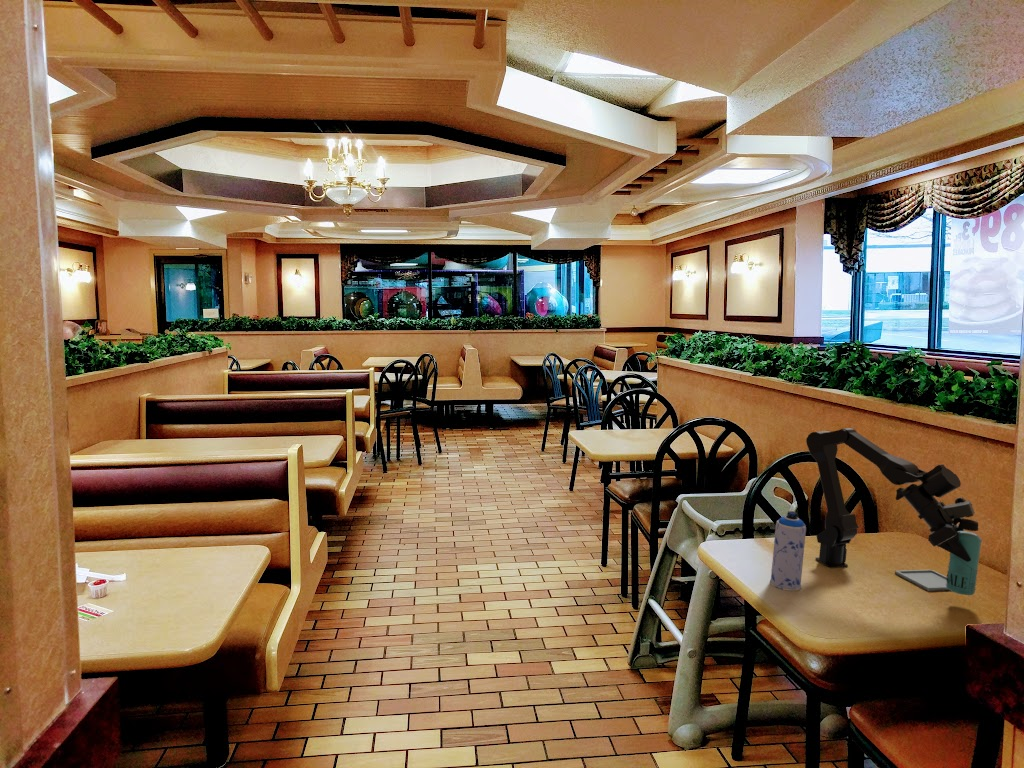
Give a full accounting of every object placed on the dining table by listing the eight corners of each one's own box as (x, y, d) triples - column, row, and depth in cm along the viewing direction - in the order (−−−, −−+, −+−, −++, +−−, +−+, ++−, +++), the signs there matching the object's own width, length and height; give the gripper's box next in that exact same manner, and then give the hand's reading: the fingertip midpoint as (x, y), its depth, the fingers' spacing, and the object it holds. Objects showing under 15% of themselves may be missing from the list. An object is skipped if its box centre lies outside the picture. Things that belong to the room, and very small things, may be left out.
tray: (928, 591, 184) (928, 587, 183) (894, 573, 195) (895, 570, 195) (966, 589, 186) (967, 586, 186) (931, 572, 198) (931, 569, 198)
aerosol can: (787, 577, 188) (793, 507, 186) (807, 589, 181) (815, 515, 179) (763, 580, 186) (770, 508, 183) (783, 591, 178) (790, 517, 176)
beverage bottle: (971, 594, 177) (982, 519, 174) (976, 603, 171) (987, 526, 168) (942, 588, 179) (952, 514, 177) (946, 597, 173) (956, 521, 171)
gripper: (949, 495, 167) (998, 550, 161) (959, 482, 181) (1004, 533, 176) (909, 518, 173) (955, 573, 167) (921, 504, 187) (964, 554, 182)
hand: (971, 557), depth 173 cm, fingers closed on beverage bottle, 6 cm apart
